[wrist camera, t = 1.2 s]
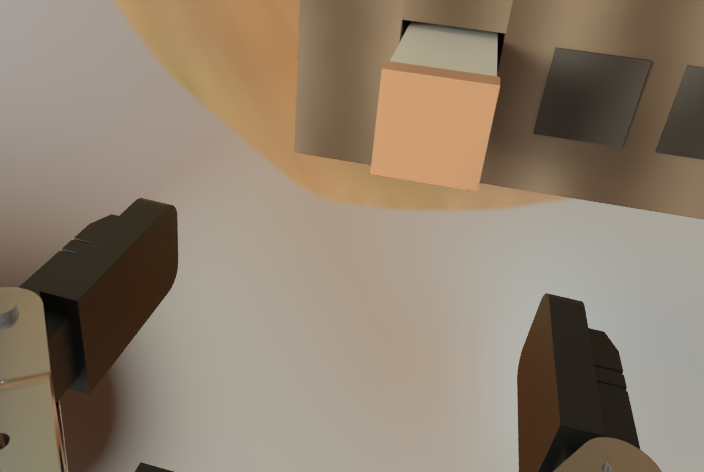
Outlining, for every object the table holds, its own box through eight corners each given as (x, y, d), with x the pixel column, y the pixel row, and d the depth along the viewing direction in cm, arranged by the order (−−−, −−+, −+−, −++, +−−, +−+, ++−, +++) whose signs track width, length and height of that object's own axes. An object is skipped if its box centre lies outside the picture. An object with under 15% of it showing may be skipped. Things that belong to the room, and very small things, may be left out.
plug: (500, 9, 33) (500, 85, 22) (484, 89, 35) (477, 191, 24) (419, -1, 33) (381, 68, 23) (409, 78, 35) (370, 173, 25)
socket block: (790, -20, 30) (851, 8, 24) (708, 172, 35) (744, 227, 30) (333, -73, 32) (301, -59, 27) (321, 112, 38) (293, 153, 33)
